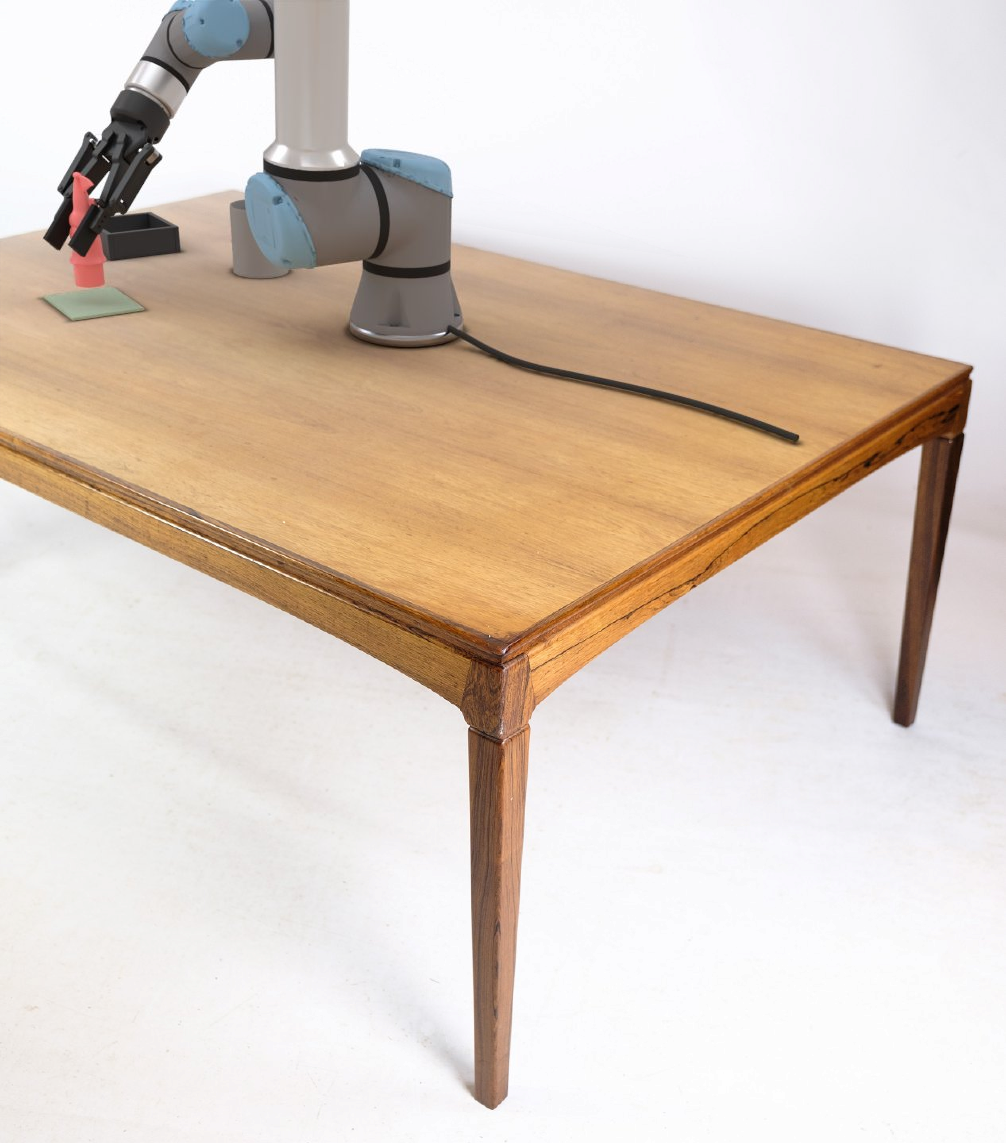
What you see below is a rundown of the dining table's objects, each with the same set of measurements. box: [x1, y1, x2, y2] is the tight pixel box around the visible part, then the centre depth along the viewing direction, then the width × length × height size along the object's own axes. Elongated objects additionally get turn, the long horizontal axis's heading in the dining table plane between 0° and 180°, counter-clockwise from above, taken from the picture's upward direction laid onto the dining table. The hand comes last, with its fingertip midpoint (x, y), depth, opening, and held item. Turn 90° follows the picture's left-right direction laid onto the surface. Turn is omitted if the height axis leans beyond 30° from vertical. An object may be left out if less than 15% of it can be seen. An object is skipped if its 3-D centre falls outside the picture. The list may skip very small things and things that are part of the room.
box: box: [99, 211, 181, 261], centre depth 206 cm, size 12×12×4 cm
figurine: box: [68, 172, 108, 289], centre depth 175 cm, size 5×5×15 cm
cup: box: [229, 198, 290, 279], centre depth 196 cm, size 8×8×10 cm
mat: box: [42, 286, 145, 322], centre depth 180 cm, size 12×10×1 cm
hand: (63, 247), depth 173 cm, fingers closed on figurine, 4 cm apart
